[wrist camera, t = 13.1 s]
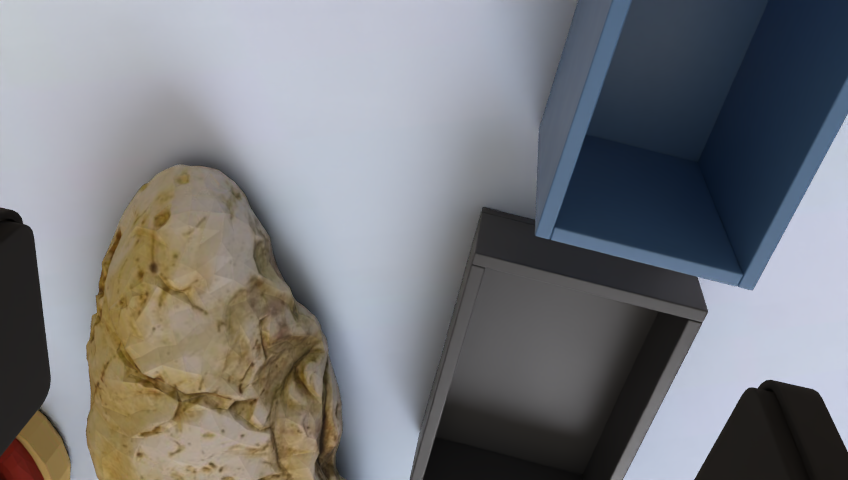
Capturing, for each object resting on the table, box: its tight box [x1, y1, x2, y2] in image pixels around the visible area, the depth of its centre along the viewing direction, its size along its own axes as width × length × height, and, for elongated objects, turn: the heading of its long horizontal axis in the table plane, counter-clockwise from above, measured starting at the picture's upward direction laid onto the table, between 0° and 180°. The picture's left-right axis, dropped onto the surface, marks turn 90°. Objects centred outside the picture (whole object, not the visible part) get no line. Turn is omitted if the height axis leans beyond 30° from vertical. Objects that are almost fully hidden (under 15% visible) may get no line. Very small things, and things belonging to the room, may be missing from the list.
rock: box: [86, 164, 346, 480], centre depth 38 cm, size 16×10×30 cm
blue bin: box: [535, 0, 848, 290], centre depth 24 cm, size 12×7×9 cm, turn 169°
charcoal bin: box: [410, 207, 708, 480], centre depth 35 cm, size 15×10×4 cm, turn 169°
